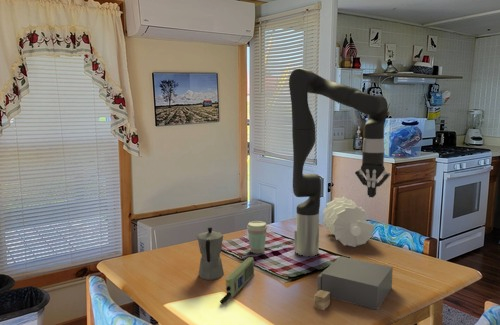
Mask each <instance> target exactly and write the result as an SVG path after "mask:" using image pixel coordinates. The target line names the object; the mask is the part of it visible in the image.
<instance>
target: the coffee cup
mask: <svg viewBox="0 0 500 325" xmlns="http://www.w3.org/2000/svg"><path fill="white" fill-rule="evenodd" d="M246 229H247V234H248V241H249V250H250V253H252V252H253V254H263V253H264V252H265V250H266V249H265V248H266V238H267V230H268V225H267V223H266V222H265V221H262V220H261V221H260V220H253V221H249V222H248V224H247V225H246Z"/></svg>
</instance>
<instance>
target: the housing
mask: <svg viewBox="0 0 500 325" xmlns="http://www.w3.org/2000/svg"><path fill="white" fill-rule="evenodd" d="M334 261H335V262H334ZM334 261H333V262H334V263H333V262H332V263H333V264H332V263H331V264H332V265H331V264H330V265H331V266H330V265H328V267H326V268H325V269H326V270H325V269H324V270H325V271H324V270H323V271H324V272H323V271H322V272H323V273H322V272H321V273H322V290H323V291H327V292H330V298H331V299H334V300H339V301H342V302H347V303H351V304H353V305H357V306H361V307H365V308H368V309H372V310H377V311H378V309H379V308H380V306H381V305H382V303H383V302H384V300H385V299H386V298H387V296H388V295H389V293H390V292H391V290H392V289H393V266H390V265H385V264H380V263H377V262H376V263H375V262H370V261H365V260H360V259H357V258H350V257H347V256H340V257H339V259H338V258H337V259H335V260H334Z"/></svg>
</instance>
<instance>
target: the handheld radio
mask: <svg viewBox="0 0 500 325" xmlns="http://www.w3.org/2000/svg"><path fill="white" fill-rule="evenodd" d="M254 260H255V259H254V257H253V256H251V257H250V256H249V257H247V258H246V259H245V260H244V261H242V262H241V263H240V264H239V265H238V266H237V267H236V268H234V270H233V271H232V272H230V274H228V276H226V278H225V289H226V294H225V295H224V296H223V298H221V299H220V301H219V302H220V304H221V305H223V304H224V303H226V301H227V300H228V299H230V298H234V297H235V296H236V295H237V294H238V293H239V292H240V290H241V289H243V288H244V287H245V285H246V284H247V283H248V282H249V281H250V280H251V279H252V278H253V277H254V276H255V263H254Z"/></svg>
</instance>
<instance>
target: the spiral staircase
mask: <svg viewBox="0 0 500 325" xmlns="http://www.w3.org/2000/svg"><path fill="white" fill-rule="evenodd" d="M322 214H323V224H324V223H325V227H326V229H329V233H331V235H334V237H335V240H336V241H339V242H340V243H341V244H342V245H343V246H344V247H346V246H348V247H349V246H350V247H354V248H356V247H358V246H361V245H364V244H367V242H368V241H369V239H371V238H372V237H373V236H374V235H373V232H374V230H375V227H376V225H375V224H372V223H371V221H367V220H366V219H368V218H369V217H368V214H367V211H366V209H363V208H362V206H358V205H357V204H356V202H355V201H353V199H349V198H347V197H346V196H342V197H333V200H331V201H329V202H327V203H326V207H325V209H324V210H323V211H322Z"/></svg>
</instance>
